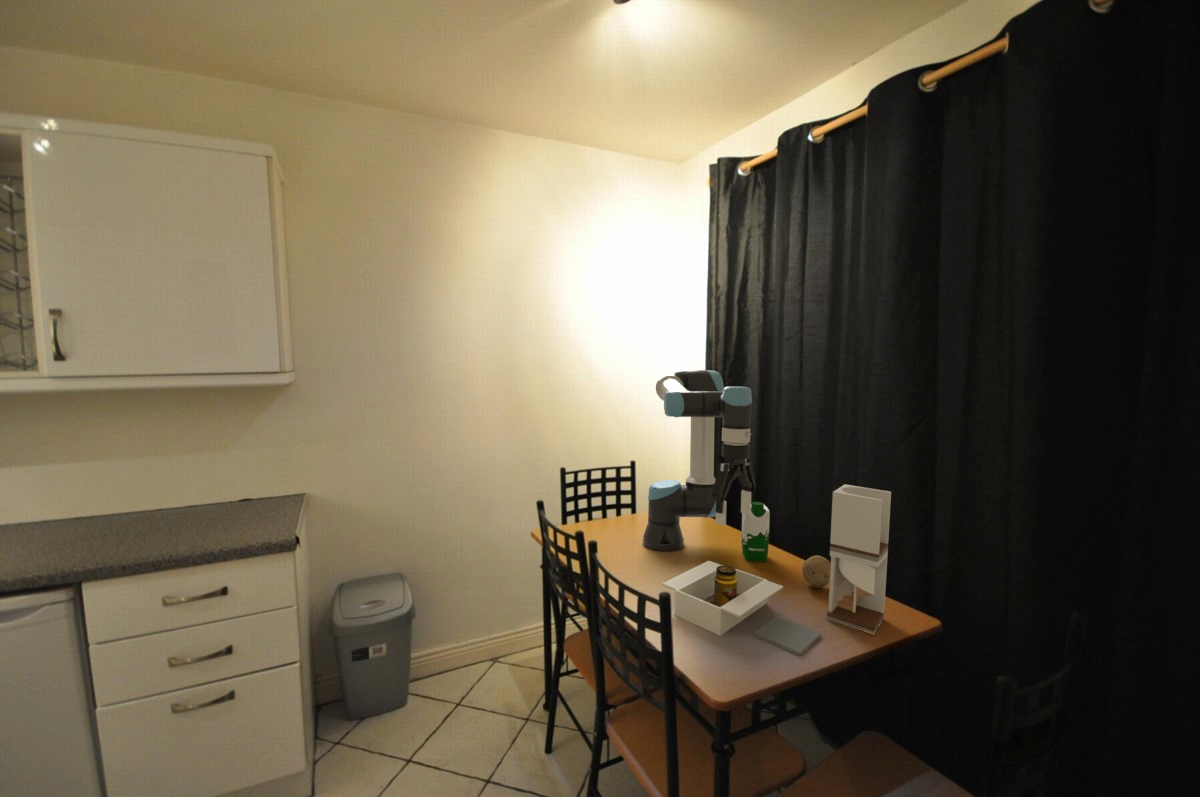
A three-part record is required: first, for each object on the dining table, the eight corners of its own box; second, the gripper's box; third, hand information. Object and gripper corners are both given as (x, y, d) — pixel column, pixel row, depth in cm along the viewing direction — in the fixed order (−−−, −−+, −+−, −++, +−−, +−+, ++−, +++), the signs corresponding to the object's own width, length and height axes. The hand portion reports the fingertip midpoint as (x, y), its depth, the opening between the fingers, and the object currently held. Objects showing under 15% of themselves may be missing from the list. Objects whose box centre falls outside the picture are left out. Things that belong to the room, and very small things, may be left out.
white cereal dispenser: (826, 620, 138) (832, 491, 135) (838, 605, 146) (844, 484, 143) (873, 635, 130) (881, 500, 127) (883, 619, 138) (891, 491, 135)
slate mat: (753, 635, 130) (753, 632, 130) (776, 618, 138) (776, 615, 138) (800, 655, 121) (800, 652, 121) (821, 636, 130) (821, 633, 130)
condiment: (735, 618, 138) (737, 575, 137) (704, 612, 141) (705, 570, 140) (738, 606, 145) (740, 565, 144) (708, 600, 148) (709, 560, 147)
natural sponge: (830, 598, 150) (831, 564, 149) (798, 590, 155) (799, 558, 154) (834, 586, 158) (835, 554, 157) (803, 579, 162) (804, 548, 162)
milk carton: (743, 562, 176) (745, 504, 174) (739, 551, 185) (741, 497, 183) (770, 563, 175) (772, 505, 173) (764, 553, 184) (766, 498, 182)
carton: (660, 608, 143) (660, 584, 143) (709, 581, 160) (709, 560, 160) (737, 643, 126) (738, 616, 125) (783, 609, 143) (784, 585, 142)
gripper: (724, 450, 129) (721, 532, 131) (769, 439, 147) (767, 512, 149) (698, 446, 135) (696, 525, 136) (745, 436, 152) (743, 506, 154)
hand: (733, 518), depth 143 cm, fingers open, 13 cm apart
